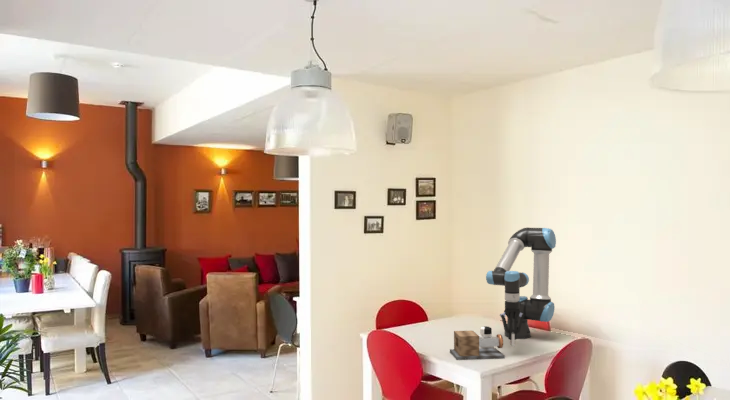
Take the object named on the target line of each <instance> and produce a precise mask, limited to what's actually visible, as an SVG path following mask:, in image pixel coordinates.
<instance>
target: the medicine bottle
mask: <svg viewBox="0 0 730 400" xmlns="http://www.w3.org/2000/svg"><path fill="white" fill-rule="evenodd" d="M479 329H480V331H479V333H480V334H478V335H479V337H494V336H493V335H492V332H493V331H492V330H493V329H492V327H490V326H481V327H480V328H479ZM483 348H495V346H485V347H479V349H483Z"/></svg>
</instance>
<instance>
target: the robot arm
mask: <svg viewBox="0 0 730 400" xmlns="http://www.w3.org/2000/svg"><path fill="white" fill-rule="evenodd" d="M556 237H557V236H556V235H555V232H554V230H553V229H552V228H549V227H523V228H521V229H519V230H517V231H516V232H515V233H513V234H512V235H511V236H510V238H509V240H508V242H507V244H508V245H507V247H506V248H505V251H504V252H503V254H502V255H501V258H500V259H499V261H497V262H498V263H497V264H496V266H495V267H494V270H488V271H486V272H487V273H486V274H485V279H486V283H487V284H488V285H492V286H502V287H503V286H504V310H503V313H500V314H499V316H500V318H501V320H502V325H503V329H504V332H503V333H504V336H505V337H507V338H508V340H509V346H510V347H515V345H516V344H515V343H516V342H515V340H517V339H520V340H522V339H528V338H531V335H532V334H531V333H532V332H531V330H530V326H529V322H528V320H530V321H535V322H537V321H538V322H541V323H542V322H543V323H548V322H550V321H551V320H552V319H553V318H554V314H555V303H554V302H553V301H552V298H551V297H550V296H549V278H550V275H549V273H550V271H549V270H550V255H551V253H552V252H553V249H555V248H556V247H557V246H556V245H557V239H556ZM525 248H531V249H530V250H531V252H532V254H533V270H532V271H533V272H532V273H533V274H532V277H533V278H532V280H533V281H532V295H530V297H529V299H528V296H525V295H521V296H520V289H521V288H523V287H525V286H527V285H529V281H530V277H529V275H528V274H527V273H525V272H519V271H517V270H511V268H512V266H513V265H514V263H515V262H516V260H517V257H518V256H519V254H520V252H521V251H523V250H524V249H525ZM506 317H507V318H506Z"/></svg>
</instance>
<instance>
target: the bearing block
mask: <svg viewBox="0 0 730 400" xmlns="http://www.w3.org/2000/svg"><path fill="white" fill-rule="evenodd" d="M479 335H480V334H478V333H476V332H475V331H474V330H454V331H453V348H452V349H451V348H450V349H449V353H450V354H451V355H452V356H453V358H455V360H456V361H458V360H459V361H462V360H464V361H465V360H466V361H467V360H493V359H494V360H496V359H497V360H498V359H505V357H506V356H505V354H504V353H502V352H501V351H500V350H499V349H498V348H496V347H494V348H483V349H479Z"/></svg>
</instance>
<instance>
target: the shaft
mask: <svg viewBox="0 0 730 400" xmlns="http://www.w3.org/2000/svg"><path fill="white" fill-rule="evenodd" d="M485 346H494V347H497V349H503V347H504V337H503V335H502V334H501V333H500V334H499V333H498V334H496V335H495V336H493V337H479V347H485Z"/></svg>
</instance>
